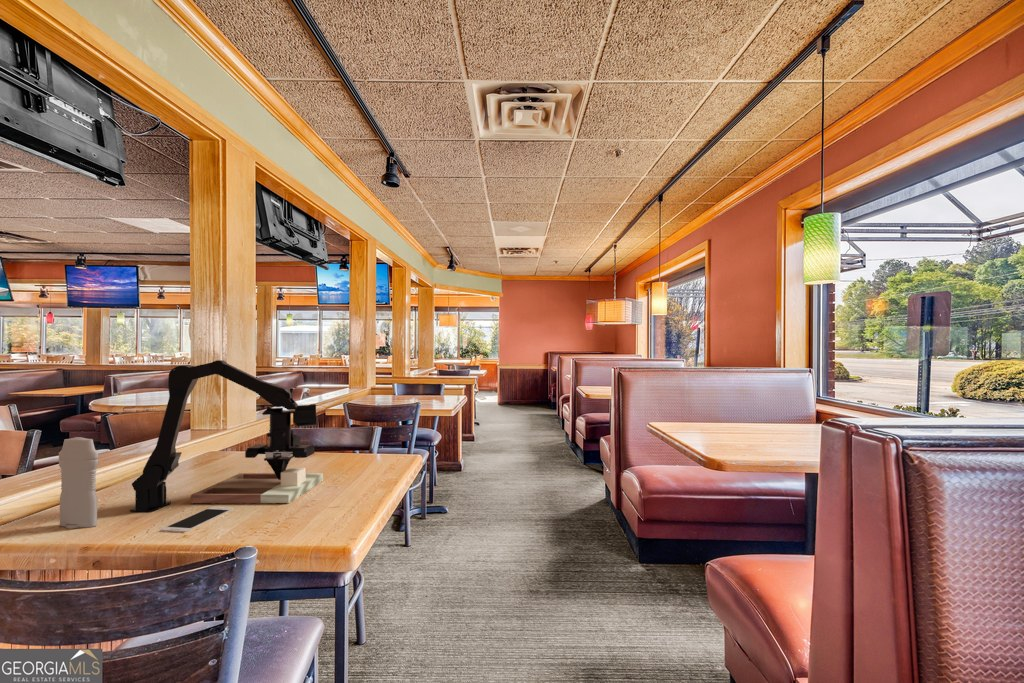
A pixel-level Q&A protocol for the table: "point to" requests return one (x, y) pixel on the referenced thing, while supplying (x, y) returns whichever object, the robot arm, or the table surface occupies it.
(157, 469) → the robot arm
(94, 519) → the tall pale column
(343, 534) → the table surface
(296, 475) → the block
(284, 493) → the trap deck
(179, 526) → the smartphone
